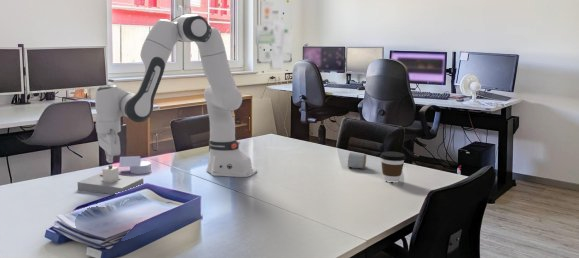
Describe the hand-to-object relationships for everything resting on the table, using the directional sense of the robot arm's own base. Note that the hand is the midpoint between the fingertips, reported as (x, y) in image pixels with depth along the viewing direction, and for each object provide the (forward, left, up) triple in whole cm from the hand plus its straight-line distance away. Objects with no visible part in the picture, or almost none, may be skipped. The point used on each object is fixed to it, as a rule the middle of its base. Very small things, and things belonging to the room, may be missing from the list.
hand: (109, 162), depth 194 cm
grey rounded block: (-86, -68, -11) cm, 110 cm away
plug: (0, 0, -9) cm, 9 cm away
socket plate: (0, 0, -10) cm, 10 cm away
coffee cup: (-104, -51, -11) cm, 117 cm away
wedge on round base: (+5, -24, -11) cm, 27 cm away
